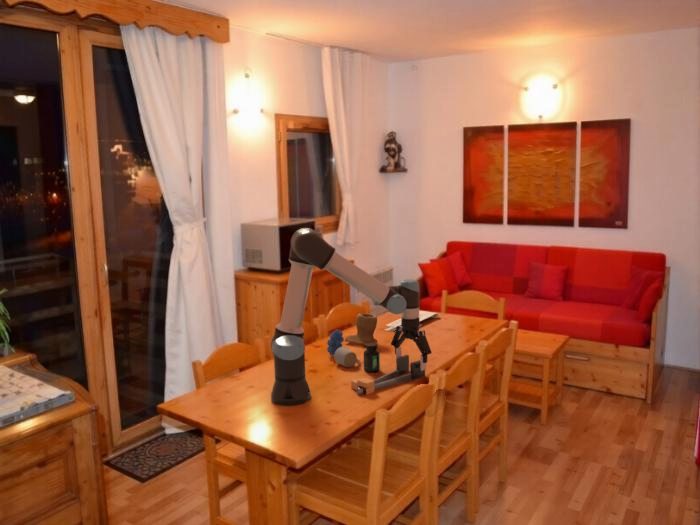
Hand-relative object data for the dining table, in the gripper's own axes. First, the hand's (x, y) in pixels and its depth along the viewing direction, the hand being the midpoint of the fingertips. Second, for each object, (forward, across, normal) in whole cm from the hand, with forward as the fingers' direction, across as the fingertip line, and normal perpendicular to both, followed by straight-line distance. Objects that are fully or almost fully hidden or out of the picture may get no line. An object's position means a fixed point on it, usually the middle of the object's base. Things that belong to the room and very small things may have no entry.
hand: (410, 366), depth 251 cm
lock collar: (+3, +2, +27) cm, 27 cm away
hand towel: (+5, +54, -62) cm, 82 cm away
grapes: (+4, +45, +4) cm, 45 cm away
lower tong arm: (+4, -3, +12) cm, 13 cm away
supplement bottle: (+4, +16, +8) cm, 18 cm away
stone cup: (+4, +48, -18) cm, 51 cm away
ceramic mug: (+4, +29, +9) cm, 31 cm away
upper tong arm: (+4, +2, +14) cm, 15 cm away
